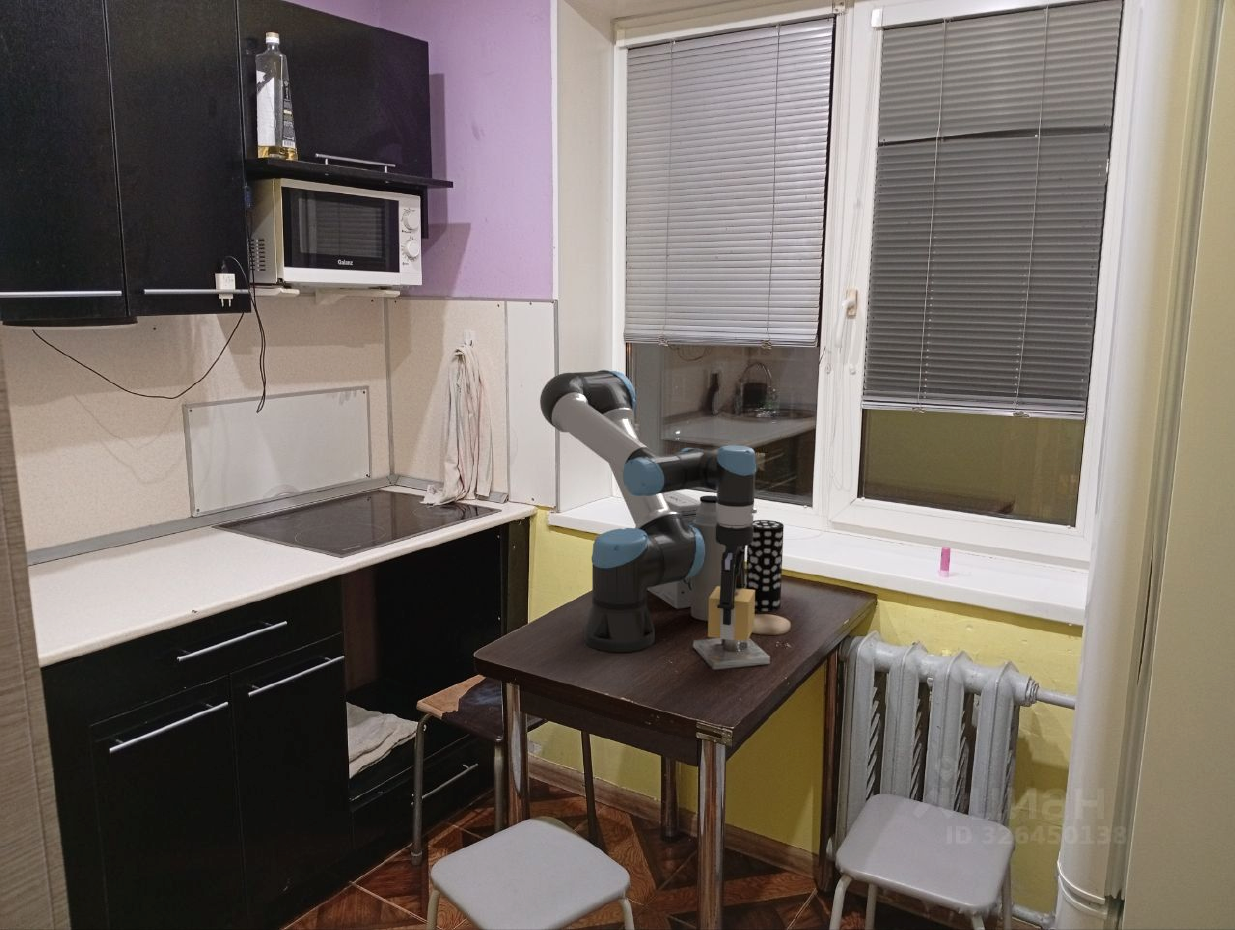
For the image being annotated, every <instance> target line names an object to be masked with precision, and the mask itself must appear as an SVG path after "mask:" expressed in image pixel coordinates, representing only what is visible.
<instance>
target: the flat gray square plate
mask: <svg viewBox="0 0 1235 930" xmlns="http://www.w3.org/2000/svg"><path fill="white" fill-rule="evenodd" d="M692 647H693V649H694V650H695V651H696V652H697V653H698V654H699V656H700V657H701V658H702V659H703V660H705V662H706V663H707V665H708V666H710V667H711V668H712V670H722V669H723V670H725V669H732V668H742V667H750V666H751V667H753V666H760V665H761V666H762V665H763V666H764V665H770V663H771V661H770V660H771V657H770V655H769V654H767V653H766V652H765V651H764V649H762V648H761V647H760V646H759V645H758V644H757V643H755V641H753V640H752V639H751V638H750V637H749V639H748V641H739V640H729V639H720V638H706V639H697V640H696V639H693V646H692Z"/></svg>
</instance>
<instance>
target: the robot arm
mask: <svg viewBox="0 0 1235 930" xmlns="http://www.w3.org/2000/svg"><path fill="white" fill-rule="evenodd" d="M635 397H636V391H635V388H634V386H633V384H632V382H631V380H630V379H629V378H628V377H627V376H626V375H625V374H624V373H622V372H620V371H616V370H609V369H608V370H607V369H601V370H597V371H581V372H580V371H579V372H564V373H560V374H558V375H555V376H553V377H552V378H550V380H549V381H547V383H546V384H545V385H544V387H543V388H542V391H541V394H540V398H539V405H540V410H541V412H542V416H543V417H544V418H545V420H546V421H547V422H548V424H550V425H551V426H552V427H553V428H554V429H556V430H557V431H558V432H561V433H568V434H569V435H571V436H573V437H574V438H575V439H576V440H578V441H579V442H580V443H582V444H583V445H584V446H585V447H587V448H588V449H590V451H592V452H593V453H595V454H596V455H597V456H599V457H600V458H602V460H604V461H605V462H606V463H608V465H609V468H610V469H611V472H612V474H613V477H614V479H615V482H616V483H617V486H618V488H619V490H620V492H621V495H622V498H623V499H624V502H625V504H626V506H627V509H628V511H629V513H630V515H631V518H632V520H633V523H634V524H635V527H625V528H615V529H611V530H608V531H606V532H602V533H601V534H600V535H598V536H597V537H596V538H595V539H594V542H593V544H592V555H591V563H592V578H591V579H592V586H591V587H592V591H591V592H592V599H591V600H592V602H591V603H592V604H591V608H590V611H589V613H588V617H587V620H586V623H585V625H584V628H583V629H584V630H583V632H584V634H583V635H584V637H583V638H584V642H585V644H586V645H588V646H589V647H591V648H593V649H595V650H599V651H603V652H609V653H629V652H631V653H632V652H637V651H641V650H644V649H646V648H649V647H651V646H652V645H653V644H654V642H655V638H656V637H655V634H656V633H655V628H654V624H653V621H652V617H651V615H650V612H649V608H648V601H647V599H648V598H647V597H648V590H647V588H650V587H654V586H658V585H663V584H667V583H671V582H675V581H683V580H684V579H687V578H690V577H693V576H694V575H696V574H697V573H698V572H699V571H700V569H701V568H702V566H703V562H704V557H705V544H704V540H703V537H702V535H701V533H700V532H699V530H698V529H697V528H694V527H693V526H691V525H685V524H684V522H683V520H682V518H681V516H680V514H679V513H677V512H674V511H671V510H670V508H669V506H668V503H667V501H666V499H665V497H664V495H663V493H665V492H671V491H677V492H678V491H683V490H689V489H690V490H691V489H696V488H705V489H709V490H713V491H716V496H717V499H716V521H717V522H718V523H717V524H716V536H715V539H716V542H717V543H719V544H721V545H722V544H723V545H724V546H726V549H725V552H723V554H722V560H721V585H720V601H719V605H717V608H721V629H720V639H729V640H734V630H735V608H734V601H735V591H736V588H740V589H745V588H746V574H745V573H746V565H745V563H746V561H745V560H746V559H745V558H746V549H747V545H750V544H751V543H752V542H753V526H752V524H751V523H753V521H754V518H755V517H754V514H757V512H758V511H757V508H754V506H755V489H756V473H757V466H756V464H757V463H756V462H757V461H756V453H755V450H754V449H753V448H751V447H750V446H746V445H745V446H744V445H725V446H724V445H723V446H721V447H719V448H718V450H717V452H715V451H709V450H705V449H703V448H702V449H701V448H698V447H685V448H682V449H681V450H680V451H679V452H675V453H670V454H669V453H668V454H659V453H657V452H655V451H654V450H653V449H651V448H649V447H648V446H647V445H645V444H644V443H643V442H641V441H640V439H639V437H638V436H637V433H636V430H635V428H634V426H633V424H632V421H633V418H634V415H635V413H634V410H635V408H636V401H637V400H636V399H635ZM725 602H726V603H725Z"/></svg>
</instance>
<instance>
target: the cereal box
mask: <svg viewBox="0 0 1235 930" xmlns="http://www.w3.org/2000/svg"><path fill="white" fill-rule="evenodd" d="M663 495H664V497H665V499H666V501H667V503H668V506H669V508H670V510H671V511H674V512H677V513H679V514H680V516H681V518H682V520H683V522H684V524H685V525H691V526H693V520H694V519H696V511H697V510H699V509H700V503H701V501H700V499H699V500H698V499H696V498H693V497H691V496H690V495H686V494H684V493H681V492H680V491H679V492H678V491H671V492H665V493H663ZM691 590H692V577H690V578H687V579H684V580H683V581H675V582H671V583H667V584H663V585H658V586H654V587H650V588H647V591H649V592H650V593H652V594H653V595H655V596H656V597H658V598H659V599H661V600H663V601H664V602H666V603H667V604H668V605H670V606H672V607H673V608H676V609H677V610H678V609H684V608H689V607H690V608H691Z"/></svg>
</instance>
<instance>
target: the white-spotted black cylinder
mask: <svg viewBox="0 0 1235 930" xmlns="http://www.w3.org/2000/svg"><path fill="white" fill-rule="evenodd" d="M751 524H752V526H753V542H752V543H751V544H750V545H747V546H746V565H745V573H746V574H745V589H750V590H755V609H754V611H756V612H757V611H758V612H772V611H777V610H779V609H780V608H781V600H782V598H781V597H782V595H781V593H782V576H783V575H782V573H783V549H784V529H785V528H784V527H785V525H784V523H782V522H780V521H776V520H771V519H770V520H769V519H758V520H757V519H756V520H753V523H751Z"/></svg>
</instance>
